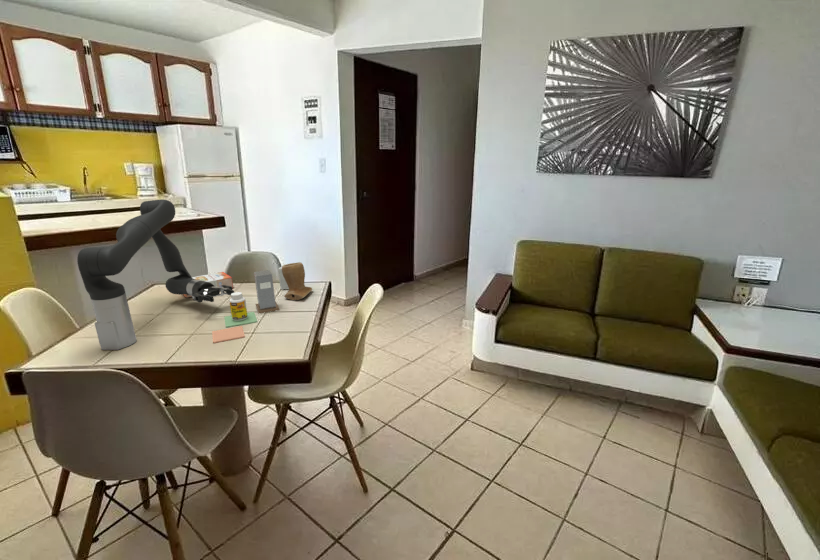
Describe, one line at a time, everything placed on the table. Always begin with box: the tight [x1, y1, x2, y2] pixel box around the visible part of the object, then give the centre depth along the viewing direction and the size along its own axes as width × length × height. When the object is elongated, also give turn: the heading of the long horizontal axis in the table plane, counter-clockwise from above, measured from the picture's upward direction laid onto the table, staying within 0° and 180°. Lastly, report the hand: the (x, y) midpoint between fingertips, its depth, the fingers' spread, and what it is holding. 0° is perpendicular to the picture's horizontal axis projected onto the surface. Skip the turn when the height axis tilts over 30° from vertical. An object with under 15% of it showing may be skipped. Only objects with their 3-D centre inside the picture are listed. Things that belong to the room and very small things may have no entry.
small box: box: [277, 265, 289, 291], centre depth 191 cm, size 8×6×10 cm
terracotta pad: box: [211, 325, 246, 344], centre depth 141 cm, size 10×10×1 cm
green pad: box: [223, 311, 258, 329], centre depth 154 cm, size 11×11×1 cm
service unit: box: [253, 269, 280, 314], centre depth 163 cm, size 9×8×15 cm
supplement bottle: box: [228, 291, 248, 321], centre depth 152 cm, size 6×6×10 cm
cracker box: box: [182, 271, 234, 299], centre depth 190 cm, size 14×6×21 cm
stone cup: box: [281, 261, 313, 301], centre depth 178 cm, size 15×12×15 cm
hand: (223, 296), depth 156 cm, fingers open, 8 cm apart
